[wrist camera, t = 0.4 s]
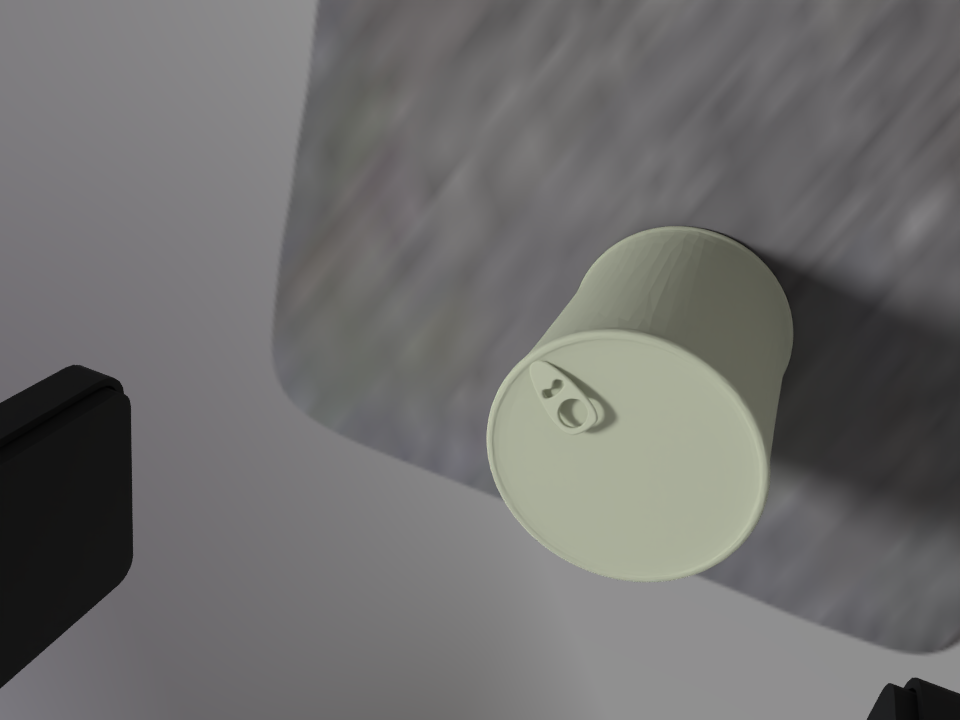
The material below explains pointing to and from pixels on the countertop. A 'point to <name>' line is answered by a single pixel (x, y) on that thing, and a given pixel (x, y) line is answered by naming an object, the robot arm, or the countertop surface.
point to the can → (648, 409)
